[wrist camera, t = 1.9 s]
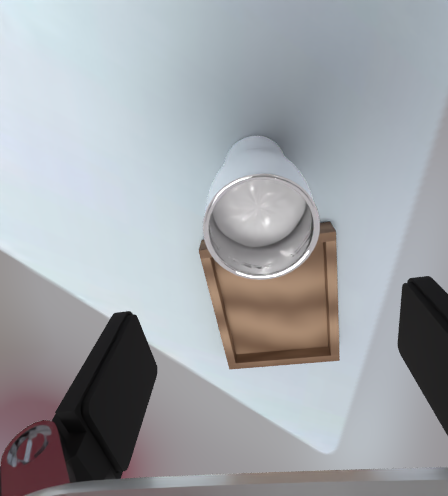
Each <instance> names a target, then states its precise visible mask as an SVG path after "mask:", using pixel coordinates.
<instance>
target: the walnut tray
mask: <svg viewBox="0 0 448 496" xmlns="http://www.w3.org/2000/svg"><path fill="white" fill-rule="evenodd" d="M199 254H200V258H201V262H202V265H203V269H204V273H205V277H206V281H207V285H208V288H209V292H210V296H211V300H212V304H213V308H214V312H215V315H216V319H217V323H218V327H219V331H220V335H221V338H222V342H223V346H224V350H225V354H226V358H227V362H228V365H229V369H240V368H253V367H265V366H278V365H290V364H302V363H315V362H327V361H339V325H338V288H337V252H336V231H335V229H334V227H333V226H332V224H331V223H330V222H323V223H320V232H319V237H318V241H317V243H316V246H315V248H314V250H313V251H312V253H311V254H310V256H309V257H308V258H307V259H306V261H305V262H304V263H302V264H301V265H300V266H299V267H298V268H296V269H295V270H293V271H291V272H290V273H288V274H285V275H283V276H280V277H277V278H272V279H265V280H255V279H247V278H243V277H240V276H237V275H235V274H233V273H231V272H229V271H227V270H226V269H224V268H223V267H222V266H220V265H219V264H218V263H217V262H216V261H215V260H214V258H213V257H212V256H211V254H210V252H209V251H208V249H207V246H206V244H205V241H204V240H202V241H201V244H200V248H199Z"/></svg>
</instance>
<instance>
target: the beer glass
mask: <svg viewBox="0 0 448 496" xmlns="http://www.w3.org/2000/svg"><path fill="white" fill-rule="evenodd" d="M319 232H320V218H319V213H318V210H317V207H316V205H315V203H314V199H313V196H312V193H311V191H310V188H309V186H308V184H307V182H306V180H305V178H304V176H303V175H302V173H301V172H300V171H299V169H298V168H297V167H296V166H295V165H294V164H293V163H292V162H291V161H290V160H289V159H287V158H286V157H285V156H284V153H283V151H282V150H281V148H280V147H279V146H278V145H277V144H276V143H275V142H274V141H273V140H271V139H269V138H267V137H263V136H249V137H245V138H243V139H241V140H239V141H238V142H236V143H235V144H234V145H233V146H232V147H231V148H230V150H229V151H228V153H227V155H226V158H225V161H224V165H223V166H222V167H221V168H220V170H219V171H218V172H217V174H216V176H215V178H214V180H213V182H212V184H211V186H210V189H209V192H208V196H207V201H206V207H205V215H204V219H203V236H204V241H205V244H206V246H207V249H208V251H209V252H210V254H211V256H212V257H213V258H214V260H215V261H216V262H217V263H218V264H219V265H220V266H222V267H223V268H224V269H226V270H227V271H229V272H231V273H233V274H235V275H237V276H240V277H243V278H247V279H255V280H265V279H272V278H277V277H280V276H283V275H285V274H288V273H290V272H291V271H293V270H295V269H296V268H298V267H299V266H300V265H301V264H302V263H304V262H305V261H306V259H307V258H308V257H309V256H310V254H311V253H312V251H313V250H314V248H315V246H316V243H317V241H318V237H319Z"/></svg>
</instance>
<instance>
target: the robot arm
mask: <svg viewBox="0 0 448 496" xmlns="http://www.w3.org/2000/svg"><path fill="white" fill-rule="evenodd" d="M399 322H400V323H399V333H398V349H399V352H400V354H401V356H402V358H403V360H404V361H405V363H406V365H407V367H408V368H409V370H410V372H411V374H412V375H413V377H414V379H415V380H416V382H417V384H418V386H419V387H420V389H421V390H422V392H423V394H424V396H425V398H426V399H427V401H428V403H429V404H430V406H431V408H432V410H433V411H434V413H435V415H436V416H437V418H438V420H439V422H440V423H441V425H442V426H443V428H444V430H445V432H446V434H447V435H448V294H447V293H446V292H445V291H444V290H443V289H442V288H441V287H440V286H439V285H438V284H437V283H436V282H435V281H434V280H433V279H432V278H431V277H429V276H425V277H417V278H410V279H409V280H408V282H407V283H404V284H403V286H402V297H401V309H400V321H399ZM156 376H157V365H156V362H155V360H154V357H153V355H152V352H151V350H150V347H149V345H148V342H147V340H146V337H145V335H144V332H143V330H142V327H141V325H140V322H139V320H138V317H137V316H136V315H133V314H132V313H131V312H130V311H127V312H118V313H114V314H113V315H112V317H111V319H110V320H109V322H108V324H107V325H106V327H105V329H104V331H103V332H102V334H101V336H100V337H99V339H98V341H97V342H96V344H95V346H94V347H93V349H92V351H91V352H90V354H89V356H88V358H87V359H86V361H85V363H84V365H83V366H82V368H81V370H80V371H79V373H78V375H77V376H76V378H75V380H74V381H73V383H72V385H71V386H70V388H69V390H68V392H67V393H66V395H65V397H64V399H63V400H62V402H61V403H60V405H59V407H58V409H57V410H56V412H55V413H56V414H55V416H54V418H53V420H52V421H50V420H42V421H38V422H35V423H33V424H31V425H29V426H27V427H26V428H25V429H23V430H22V431H21V432H19V433H18V434H17V435H16V436H15V437H14V438H13V439H12V440H11V441H10V443H9V444H8V445H7V447H6V448H5V450H4V453H3V455H2V458H1V466H0V496H448V467H436V468H392V469H361V470H330V471H329V470H328V471H300V472H299V471H298V472H269V473H242V474H219V475H218V474H216V475H192V476H169V477H144V478H126V479H121V475H122V472H123V471H125V470H127V468H128V466H129V463H130V460H131V457H132V454H133V450H134V447H135V444H136V441H137V437H138V434H139V431H140V428H141V425H142V422H143V418H144V415H145V412H146V408H147V405H148V402H149V399H150V396H151V393H152V389H153V386H154V383H155V380H156Z"/></svg>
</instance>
